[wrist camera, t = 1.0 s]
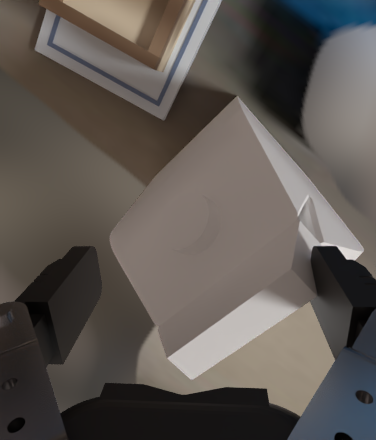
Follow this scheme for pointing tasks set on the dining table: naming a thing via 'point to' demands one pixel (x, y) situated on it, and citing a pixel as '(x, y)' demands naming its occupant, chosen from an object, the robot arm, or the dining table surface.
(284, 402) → the dining table surface
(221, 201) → the milk
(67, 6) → the square wooden tray
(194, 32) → the board
